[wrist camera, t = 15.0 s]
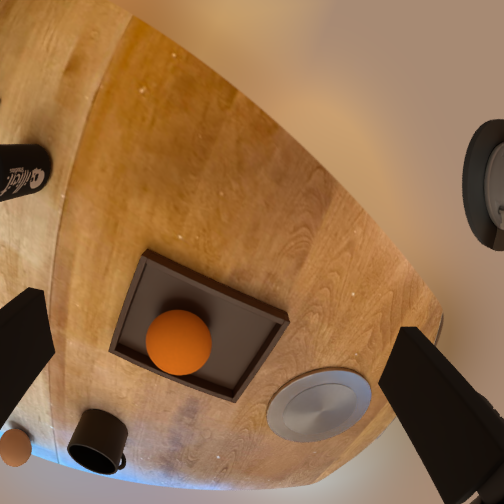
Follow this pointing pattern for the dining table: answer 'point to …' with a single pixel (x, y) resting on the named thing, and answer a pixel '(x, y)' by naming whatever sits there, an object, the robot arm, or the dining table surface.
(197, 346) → the orange
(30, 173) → the beverage can
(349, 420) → the plate
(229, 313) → the tray
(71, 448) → the mug
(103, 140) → the dining table surface
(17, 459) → the egg
